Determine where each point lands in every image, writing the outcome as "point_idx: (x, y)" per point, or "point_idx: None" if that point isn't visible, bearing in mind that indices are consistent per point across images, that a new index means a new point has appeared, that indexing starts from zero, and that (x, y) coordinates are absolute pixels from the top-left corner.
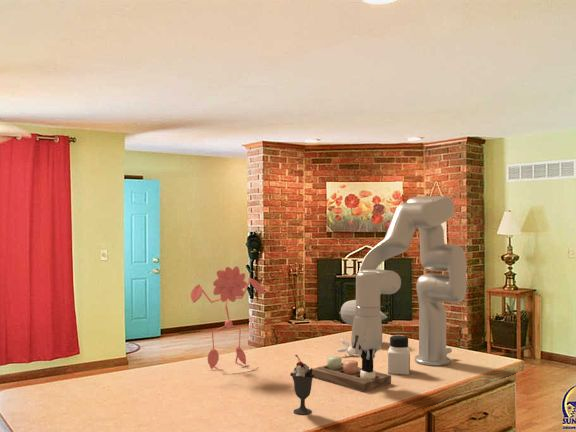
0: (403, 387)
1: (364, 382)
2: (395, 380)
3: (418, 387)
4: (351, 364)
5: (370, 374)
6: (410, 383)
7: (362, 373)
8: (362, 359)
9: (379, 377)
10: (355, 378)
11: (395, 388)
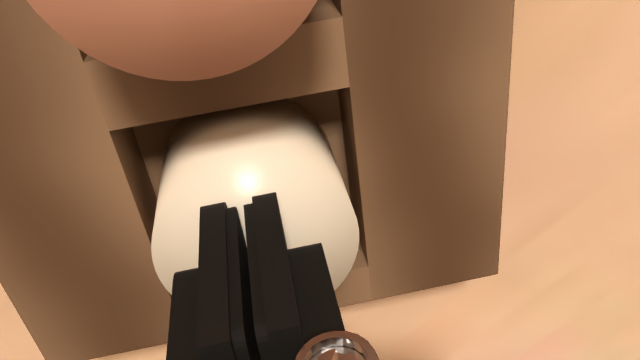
0: (458, 322)
1: (74, 344)
2: (588, 160)
3: (538, 356)
4: (98, 53)
5: None
6: (591, 273)
7: (153, 254)
8: (198, 335)
9: (345, 278)
10: (57, 199)
11: (388, 318)
